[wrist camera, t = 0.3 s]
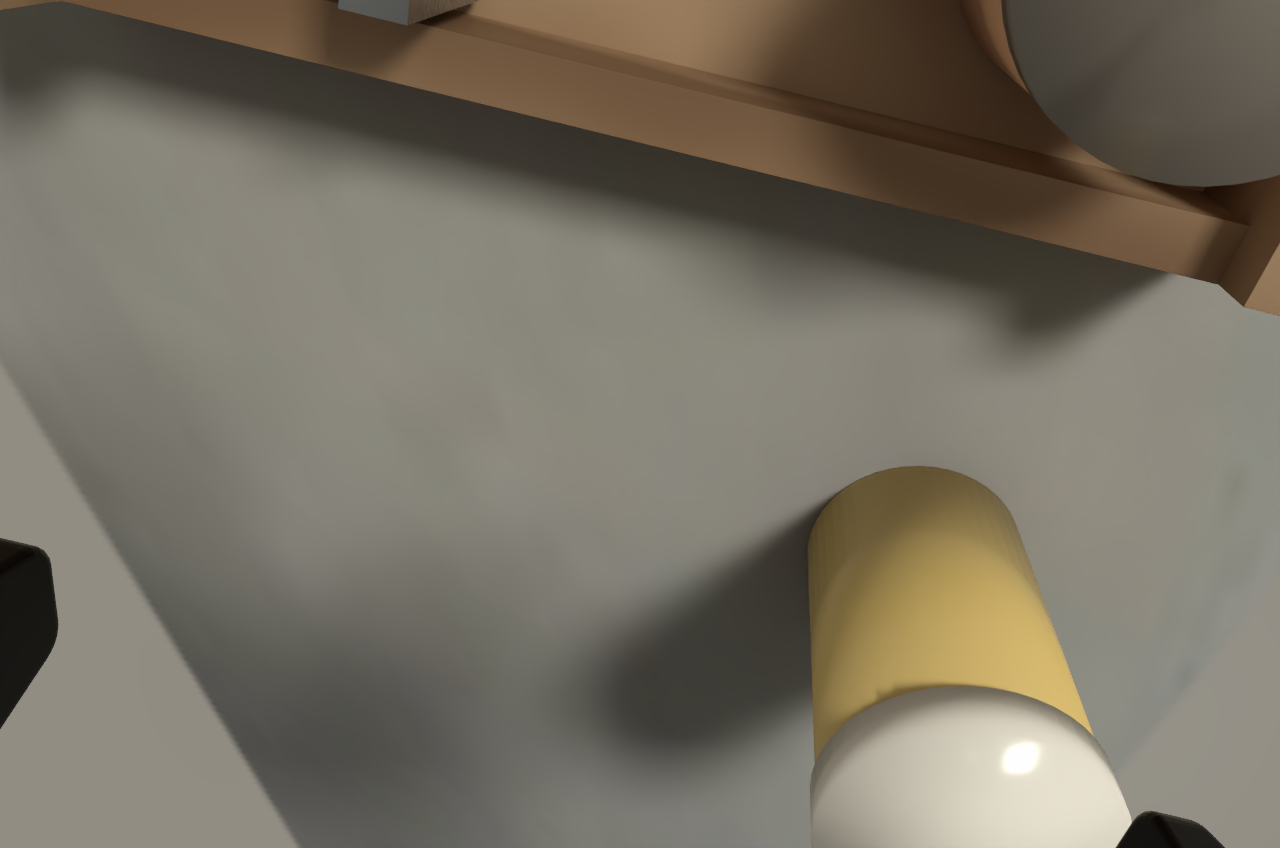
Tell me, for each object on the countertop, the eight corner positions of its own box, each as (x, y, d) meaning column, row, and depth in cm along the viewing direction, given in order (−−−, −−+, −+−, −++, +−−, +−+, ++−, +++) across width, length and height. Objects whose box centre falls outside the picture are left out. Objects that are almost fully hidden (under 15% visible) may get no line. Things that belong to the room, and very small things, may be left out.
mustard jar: (976, 658, 24) (1054, 972, 17) (778, 608, 24) (775, 901, 17) (1061, 493, 21) (1193, 782, 14) (840, 438, 21) (866, 698, 15)
